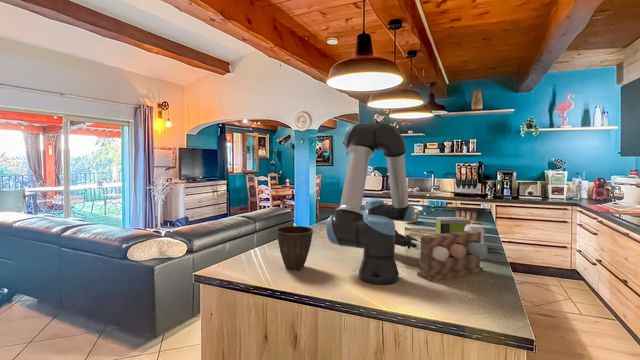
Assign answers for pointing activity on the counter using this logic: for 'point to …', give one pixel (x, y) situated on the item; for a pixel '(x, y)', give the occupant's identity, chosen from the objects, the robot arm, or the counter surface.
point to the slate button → (476, 249)
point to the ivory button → (440, 253)
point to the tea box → (450, 224)
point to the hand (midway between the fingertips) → (423, 247)
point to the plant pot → (294, 245)
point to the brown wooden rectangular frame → (452, 265)
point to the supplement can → (476, 228)
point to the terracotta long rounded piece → (457, 250)
